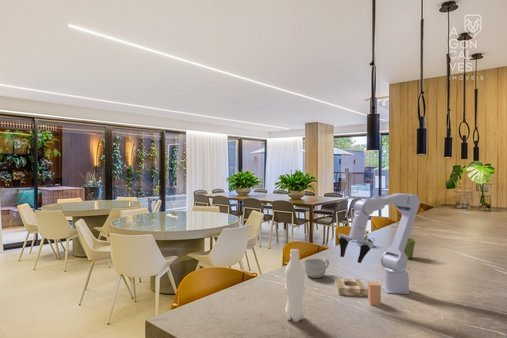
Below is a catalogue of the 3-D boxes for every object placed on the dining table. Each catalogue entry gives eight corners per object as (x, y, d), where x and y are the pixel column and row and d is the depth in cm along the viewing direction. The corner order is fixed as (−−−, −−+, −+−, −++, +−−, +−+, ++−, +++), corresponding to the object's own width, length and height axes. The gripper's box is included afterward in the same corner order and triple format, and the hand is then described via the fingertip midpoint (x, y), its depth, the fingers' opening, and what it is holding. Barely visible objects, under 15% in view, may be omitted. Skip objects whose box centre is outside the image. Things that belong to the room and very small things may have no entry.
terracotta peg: (378, 301, 130) (378, 281, 130) (380, 305, 127) (380, 285, 127) (367, 301, 131) (367, 281, 131) (370, 305, 127) (370, 285, 127)
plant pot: (411, 255, 200) (411, 237, 200) (419, 260, 188) (419, 241, 188) (392, 254, 201) (392, 236, 201) (398, 260, 190) (398, 241, 190)
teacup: (309, 280, 155) (309, 264, 155) (300, 273, 165) (300, 258, 165) (335, 278, 159) (335, 262, 159) (325, 271, 169) (325, 256, 169)
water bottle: (302, 313, 119) (302, 247, 119) (306, 323, 112) (306, 252, 112) (283, 314, 119) (283, 247, 119) (286, 323, 112) (286, 252, 112)
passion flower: (360, 253, 224) (350, 238, 229) (368, 248, 231) (359, 234, 235) (370, 247, 216) (360, 232, 221) (379, 242, 223) (369, 227, 227)
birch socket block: (361, 285, 148) (361, 279, 148) (367, 296, 136) (367, 289, 136) (335, 284, 149) (335, 278, 149) (338, 294, 137) (338, 287, 137)
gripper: (338, 222, 136) (330, 253, 134) (372, 231, 126) (363, 264, 124) (345, 224, 141) (337, 255, 139) (378, 233, 131) (370, 266, 129)
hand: (350, 259), depth 132 cm, fingers open, 7 cm apart
